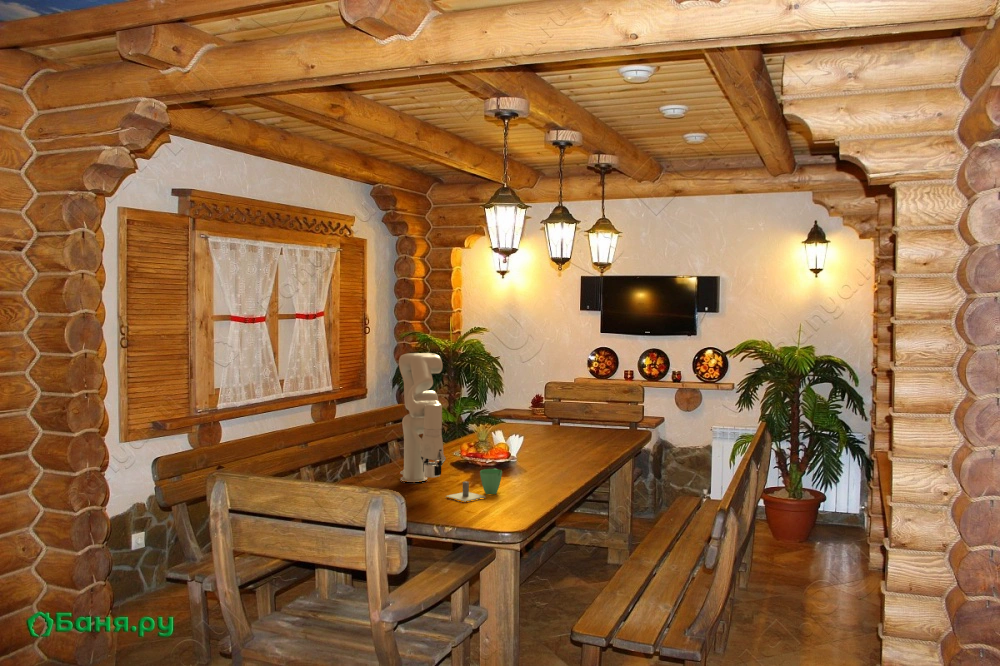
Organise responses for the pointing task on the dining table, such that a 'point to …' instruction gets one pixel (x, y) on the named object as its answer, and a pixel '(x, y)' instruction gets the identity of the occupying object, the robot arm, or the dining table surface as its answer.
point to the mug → (490, 480)
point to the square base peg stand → (465, 494)
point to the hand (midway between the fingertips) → (432, 473)
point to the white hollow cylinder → (430, 469)
